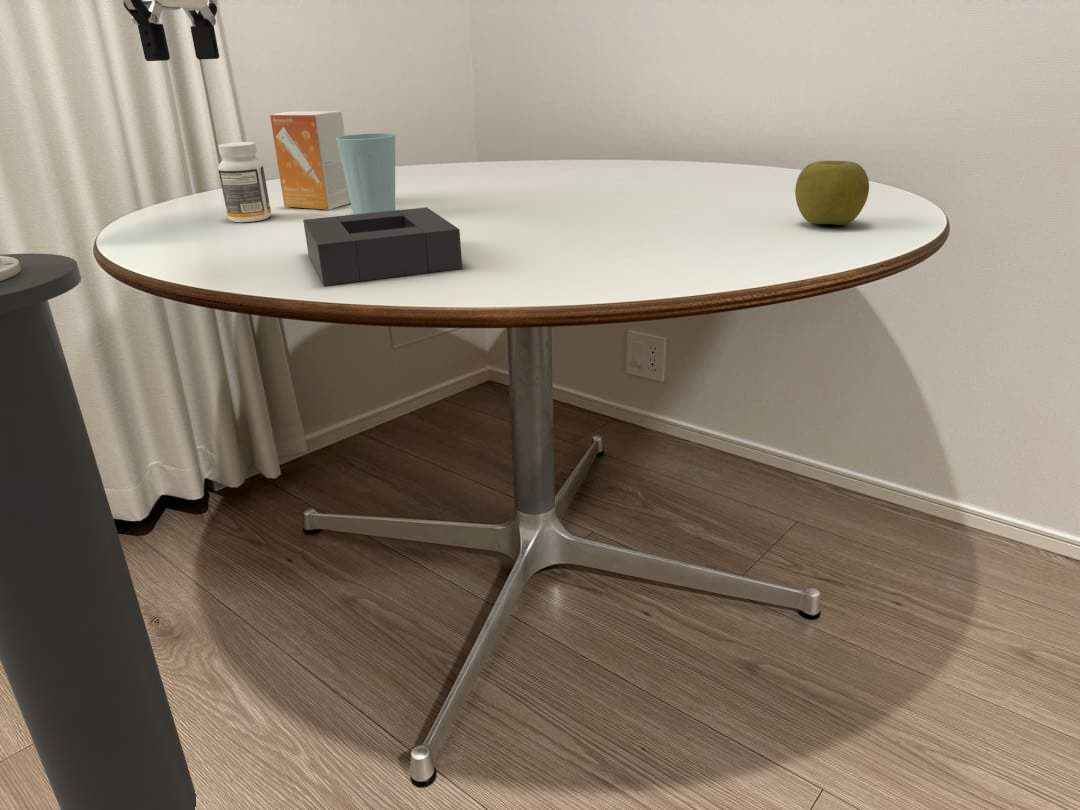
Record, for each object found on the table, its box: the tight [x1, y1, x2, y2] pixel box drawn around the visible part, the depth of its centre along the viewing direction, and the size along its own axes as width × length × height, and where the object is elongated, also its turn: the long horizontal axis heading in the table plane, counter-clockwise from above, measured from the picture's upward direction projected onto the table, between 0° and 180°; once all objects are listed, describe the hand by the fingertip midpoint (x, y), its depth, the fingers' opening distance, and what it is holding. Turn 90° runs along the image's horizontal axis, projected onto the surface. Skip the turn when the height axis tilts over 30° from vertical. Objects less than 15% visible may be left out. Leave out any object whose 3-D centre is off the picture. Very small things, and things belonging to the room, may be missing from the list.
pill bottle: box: [217, 141, 272, 223], centre depth 107 cm, size 6×6×10 cm
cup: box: [336, 132, 396, 215], centre depth 106 cm, size 8×8×10 cm
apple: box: [794, 160, 870, 226], centre depth 91 cm, size 8×8×7 cm
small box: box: [269, 110, 351, 211], centre depth 114 cm, size 8×6×13 cm
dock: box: [302, 206, 463, 287], centre depth 83 cm, size 14×14×4 cm
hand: (184, 59), depth 101 cm, fingers open, 9 cm apart
